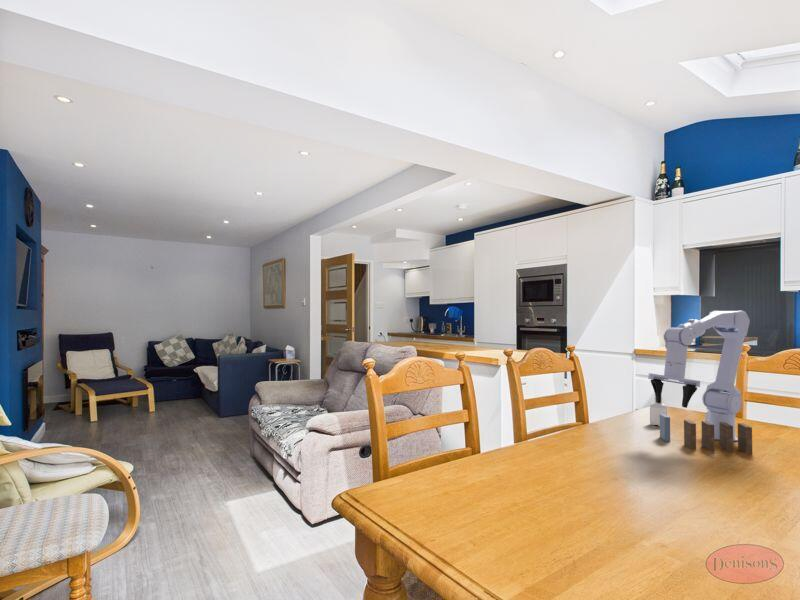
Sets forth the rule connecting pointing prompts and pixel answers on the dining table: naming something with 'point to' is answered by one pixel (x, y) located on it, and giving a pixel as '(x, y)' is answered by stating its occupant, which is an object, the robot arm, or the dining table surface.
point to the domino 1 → (665, 427)
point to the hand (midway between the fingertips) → (671, 405)
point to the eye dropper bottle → (657, 412)
